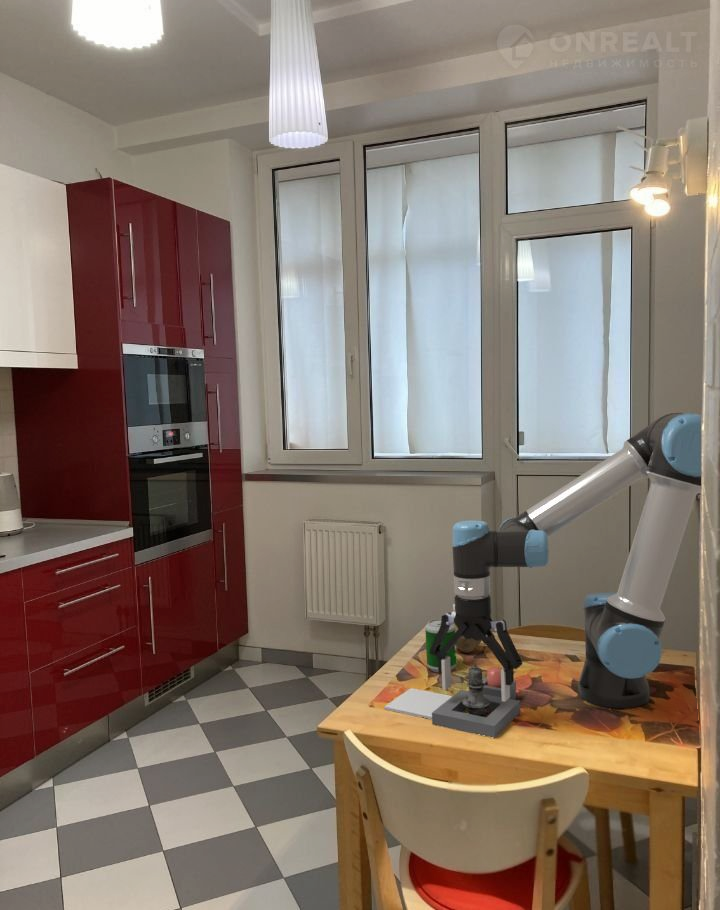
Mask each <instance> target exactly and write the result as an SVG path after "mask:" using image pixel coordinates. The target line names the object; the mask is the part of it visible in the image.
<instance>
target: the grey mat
mask: <svg viewBox="0 0 720 910" xmlns="http://www.w3.org/2000/svg"><path fill="white" fill-rule="evenodd" d="M452 696H453V695H447V694H442V693H437V692H432V691H429V690H424V689H423V690H422V689H418V688H417V689H416V688H414V687H411V688H409V689H408V690H406V691H405V692H403V693H401V695H399V696H397V697H395V698H394V699H393V700H392V701H390V702H389V703H387V704H386V705H385V706H384V707H383V709H384V710H386V711H389V712H390V711H391V712H394V713H400V714H404V715H409V716H412V715H413V716H414V717H417V716H420V717H419V718H422V717H424V718H423V719H426V718H428V719H427V720H431V721H432V712H433V711H435V710H436V709H437V708H438V707H440V706H441V705H442V704H444V703H445V702H446V701H447V700H449V699H450V698H451V697H452Z"/></svg>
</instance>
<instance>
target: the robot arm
mask: <svg viewBox="0 0 720 910" xmlns="http://www.w3.org/2000/svg"><path fill="white" fill-rule="evenodd" d="M643 478H647V479H650V486H649V489H648V493H647V495H646V499H645V501H644V505H643V509H642V511H641V515H640V518H639V520H638V521H639V522H638V524H637V528H636V531H635V534H634V537H633V540H632V544H631V548H630V551H629V553H628V556H627V560H626V563H625V566H624V569H623V573H622V576H621V580H620V583H619V586H618V589H617V592H615V591H613V592H612V591H611V592H610V591H609V592H607V591H605V592H604V591H601V592H591V593H589V594H587V595H586V596H585V597H584V602H583V603H584V605H583V610H584V635H585V636H584V638H585V642H584V643H585V644H584V645H585V661H584V664H583V668H582V671H581V673H580V676H579V680H578V695H579V696H580V697H581V698H582V699H583V700H584V701H586V702H589V703H591V704H594V705H597V706H601V707H605V708H606V707H607V708H615V709H629V708H630V709H631V708H636V707H641V706H643V705H646V704H647V703H649V701H650V699H651V695H650V693H651V692H650V691H651V690H650V685H649V682H648V680H647V677H646V676H648V675H649V674H651V673H652V672H654V671H655V669H656V668H657V667H658V666H659V664H660V663H661V662H660V661H661V660H662V654H663V652H662V650H663V649H662V643H661V640H660V637H661V634H662V631H663V628H664V624H665V621H666V617H665V614H664V613H663V611H662V609H661V606H662V603H663V600H664V598H665V594H666V591H667V588H668V584H669V582H670V578H671V575H672V571H673V570H674V569H673V568H674V566H675V563H676V559H677V556H678V554H679V550H680V547H681V543H682V541H683V537H684V533H685V531H686V528H687V525H688V522H689V519H690V517H691V516H690V515H691V513H692V509H693V506H694V504H695V500H696V496H698V494H700V493H701V414H700V413H699V414H698V413H691V412H688V413H687V412H686V413H683V412H671V413H668V414H665V415H662V416H660V417H658V418H656V419H655V420H653V421H652V422H651V423H649V424H648V425H647V426H645V427H644V428H643V429H641V430H640V431H639V432H636V433H635V434H634V435H633V436H631V437H630V438H628V439H627V440H625V441H624V442H623V448H621V449H620V450H618V451H616V452H614V454H612V455H611V456H609V457H607V458H605V459H603V460H602V461H601V462H600V463H598V464H596V465H595V466H593V467H592V468H590V469H588V470H587V471H586V472H584V473H582V474H581V475H579V476H577V477H576V478H575V479H573V480H571V481H570V482H568V483H567V484H565V485H563V486H562V487H560V488H559V489H557V490H556V491H554V492H553V493H551V494H550V495H548V496H546V497H545V498H543V499H542V500H541V501H538V502H537V503H536V504H534V505H532V506H531V507H529V508H528V509H526V510H525V511H523V512H522V513H520V514H519V515H517V516H516V517H510V518H507V519H506V520H504V521H503V522H502V523H501V524H500V527H499V529H498V530H490V528H489V523H487V522H486V521H483V520H474V519H473V520H470V519H469V520H462V521H458V522H456V523H454V525H453V527H452V560H453V561H452V563H453V587H454V588H453V589H454V591H453V592H454V595H455V596H454V604H455V612H456V615H455V616H453V615H451V613H452V612H447V613H445V614H443V615H441V618H440V619H441V626H440V628H439V631H438V633H437V635H436V637H435V640H434V642H433V644H432V646H431V648H430V651H429V653H430V654H431V655H435V656H436V657H437V658H438V671H439V673H438V674H441V683H442V684H441V685H442V686H441V687H442V690H441V691H446V690H448V689H449V688H450V687H451V686H452V676H451V675H452V674H451V672H452V671H451V669H450V657H448V656H447V657H446V655H447V654H448V652H449V651H450V650H451V649H452V648H453V647H454V645H455V644H456V643H457V642H458V641H459V640H460V638H461V637H462V636H464V637H465V639H474V640H478V641H479V640H482V641H481V642H482V643H484V645H486V647H487V648H488V649H489V651H490V652H491V653H492V654H493V656H494V657H495V658H496V660H497V661H498V662H499V664H500V665H501V666H502V667H503V668H502V670H501V696H502V701H503V702H505V701H507V700H508V699H509V698H510V685H511V684H513V682H514V676H515V675H514V670H518V668H520V667H521V666H522V665H523V660H522V658H521V656H520V654H519V652H518V650H517V648H516V647H515V644H514V642H513V640H512V638H511V635H510V633H509V631H508V628H507V626H508V625H507V621H506V620H505V619H501V620H493V619H492V616H491V615H492V607H491V606H492V602H491V598H492V597H491V596H490V594H491V593H492V592H491V591H492V590H491V573H490V572H491V571H490V570H491V569H490V568H530V569H531V568H537V567H545V566H547V564H548V562H549V557H550V556H549V553H550V552H549V537H551V536H552V535H554V534H556V533H557V532H558V531H560V530H562V529H563V528H565V527H566V526H568V525H570V524H571V523H573V522H574V521H576V520H578V519H579V518H582V517H583V516H584V515H585V514H587V513H589V512H590V511H591V510H593V509H595V508H596V507H598V506H600V505H601V504H603V503H605V502H607V501H608V500H609V499H611V498H613V497H615V496H616V495H617V494H619V493H621V492H623V491H624V490H626V489H627V488H629V487H631V486H632V485H633V484H636V482H639V481H640V480H642V479H643ZM453 622H454V623H455V625H456V626H457V628H458V630H457V631H456V632H455V634H454V635H453V636H452V638H451V639H450V640H449V641H448V642H447V644H446V645H445V646H444V647H443V648H442V649H441V650H440V647H441V645H442V643H443V641H444V639H445V636H446V634H447V632H448V630H449V628H450V625H451V624H452V623H453ZM492 628H493V629H494V632H496V633H497V636H498V639H499V641H500V643H501V644H500V643H499V641H498V640H497V639H496V635H495V634H494V633H493V632H492V630H491V629H492ZM501 645H502V646H501Z"/></svg>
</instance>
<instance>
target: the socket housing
mask: <svg viewBox="0 0 720 910" xmlns="http://www.w3.org/2000/svg"><path fill="white" fill-rule="evenodd" d="M482 683H484V687H483V695H484V698H487V699H488V700H489V701H490V705H489V709H488V711H487V712H486V713H489V714H488V716H487V717H481V716H477V715H472V714H468V712H465V711H466V710H465V708H464V705H463V703H462V702H463V700H464V699H465V698H468V696H469V690H464V689H460V690H459V691H457V692H456V693H455V694H453V695H451V696H452V697H451V698H450V699H449V700H447V701H446V702H445V703H444V704H442V705H441V706H440V707H438V708H437V709H436V710H435V711H433V712H432V720H431V725H433V726H437V725H438V727H442V726H443V727H442V728H446V727H447V729H452V730H455V729H456V731H459V732H465V733H469V734H473V733H475V734H474V735H478V734H480V735H479V736H482V735H485V736H484V737H487V736H490V737H489V738H491V737H494V738H493V739H496V738H497V736H499V735H500V734H501V732H502V731H503V730H504V729H505V728H507V726H509V725H510V724H511V723H512V722H513V720H515V718H516V717H517V716H519V714H521V701H520V700H518V699H517V681H516V680H514V682H513V684H511V685H510V698H509V699H508V700H507V701H505V702H503V701H502V696H501V688H497V687H492V686H488V679H487V676H486V677H485V678H482Z"/></svg>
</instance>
